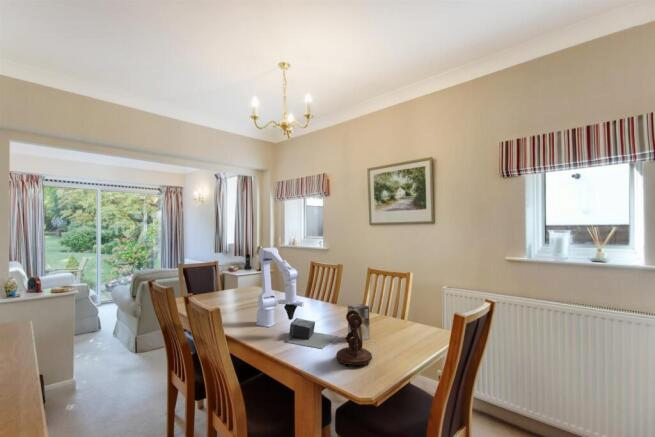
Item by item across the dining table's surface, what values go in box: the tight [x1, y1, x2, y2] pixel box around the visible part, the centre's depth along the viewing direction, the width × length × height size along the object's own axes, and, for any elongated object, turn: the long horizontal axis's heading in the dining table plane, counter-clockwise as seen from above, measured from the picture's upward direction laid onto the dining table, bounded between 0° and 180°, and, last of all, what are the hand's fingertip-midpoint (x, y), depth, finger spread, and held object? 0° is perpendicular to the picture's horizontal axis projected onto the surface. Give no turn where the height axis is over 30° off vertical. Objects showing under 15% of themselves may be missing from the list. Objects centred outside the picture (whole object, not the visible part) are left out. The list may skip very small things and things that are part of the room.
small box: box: [288, 317, 316, 340], centre depth 159 cm, size 11×6×10 cm
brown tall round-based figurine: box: [335, 310, 373, 367], centre depth 130 cm, size 15×15×20 cm
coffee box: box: [347, 303, 371, 341], centre depth 156 cm, size 9×6×16 cm
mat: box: [284, 331, 338, 350], centre depth 155 cm, size 20×18×1 cm
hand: (290, 319), depth 160 cm, fingers closed
